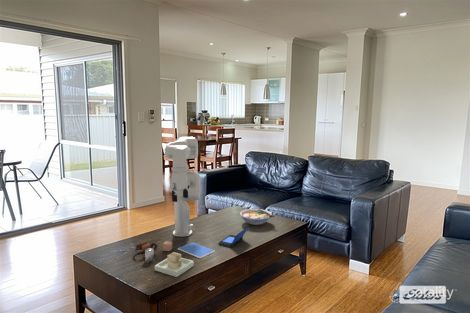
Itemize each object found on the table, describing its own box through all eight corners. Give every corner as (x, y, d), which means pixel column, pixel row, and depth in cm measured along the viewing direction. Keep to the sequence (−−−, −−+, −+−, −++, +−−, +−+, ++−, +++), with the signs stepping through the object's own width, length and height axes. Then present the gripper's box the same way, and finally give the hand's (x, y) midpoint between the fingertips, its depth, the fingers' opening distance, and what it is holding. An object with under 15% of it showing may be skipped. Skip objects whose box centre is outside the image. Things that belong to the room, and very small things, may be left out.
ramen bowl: (234, 220, 245) (234, 209, 244) (261, 216, 254) (262, 206, 253) (248, 231, 222) (248, 219, 221) (278, 227, 231) (278, 215, 230)
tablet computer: (176, 249, 193) (176, 247, 193) (193, 243, 203) (193, 241, 203) (199, 259, 181) (199, 257, 181) (215, 252, 190) (215, 250, 190)
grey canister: (149, 258, 181) (149, 247, 181) (155, 259, 179) (155, 249, 178) (143, 261, 178) (143, 250, 177) (149, 263, 175) (149, 252, 175)
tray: (172, 259, 180) (172, 255, 179) (193, 265, 173) (193, 260, 173) (154, 270, 168) (154, 265, 167) (176, 277, 161) (176, 272, 161)
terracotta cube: (165, 247, 195) (165, 241, 194) (172, 248, 194) (172, 241, 194) (163, 250, 191) (163, 244, 191) (170, 251, 191) (169, 244, 190)
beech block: (173, 262, 174) (173, 252, 173) (181, 265, 171) (181, 254, 170) (167, 266, 169) (167, 255, 168) (175, 269, 167) (174, 257, 166)
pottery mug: (138, 260, 179) (133, 246, 181) (138, 261, 188) (134, 247, 190) (159, 252, 183) (155, 237, 185) (159, 252, 192) (154, 239, 194)
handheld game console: (230, 236, 214) (230, 222, 212) (248, 240, 207) (249, 226, 206) (217, 245, 200) (217, 230, 199) (237, 249, 194) (237, 234, 192)
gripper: (184, 166, 193) (184, 195, 196) (164, 171, 178) (164, 202, 181) (194, 167, 190) (194, 197, 192) (175, 172, 175) (175, 204, 177)
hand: (180, 199), depth 186 cm, fingers open, 9 cm apart
